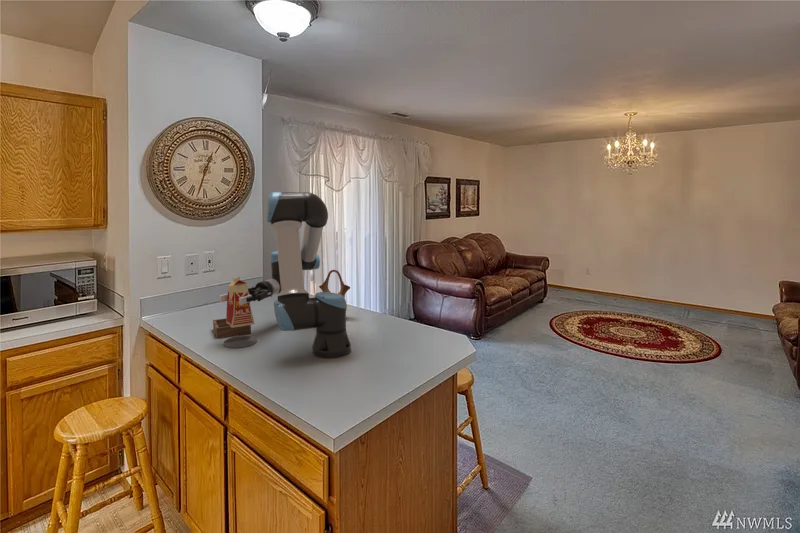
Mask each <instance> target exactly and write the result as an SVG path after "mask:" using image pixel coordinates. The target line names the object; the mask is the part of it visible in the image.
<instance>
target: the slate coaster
mask: <svg viewBox="0 0 800 533" xmlns="http://www.w3.org/2000/svg"><path fill="white" fill-rule="evenodd" d="M257 343H258V338H257V337H255V336H252V335H239V336H232V337H228V338H227V339H226V340H224V341H223V346H224V347H225V348H227V349H243V348H248V346H249V347H252V346H254V345H255V344H257ZM251 345H252V346H251Z"/></svg>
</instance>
